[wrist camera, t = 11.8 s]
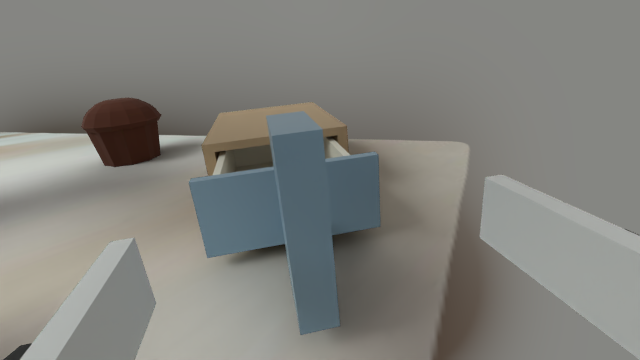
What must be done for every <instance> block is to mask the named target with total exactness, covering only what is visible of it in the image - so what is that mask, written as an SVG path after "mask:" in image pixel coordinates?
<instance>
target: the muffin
mask: <svg viewBox="0 0 640 360" xmlns="http://www.w3.org/2000/svg"><path fill="white" fill-rule="evenodd" d="M160 116H161V114H160V113H159V112H158V111H157V110H156V108H154V107H153V106H151V105H150V104H148V103H146V102H144V101H141V100H139V99H134V98H119V99H111V100H106V101H102V102H100V103H98V104H96V105H94V106H93V107H92V108H91V109H90V110H89V111H88V112H87V113H86V114H85V116H84V118H83V122H82V126H81V127H82V128H83V129H84V130H85V131H86V132H87V134H88V135H89V137H90V139H91V141H92V143H93V145H94V147H95V148H96V150H97V152H98V154H99V156H100V158H101V159H102V161H103V163H104V165H105V166H113V167H118V166H125V165H134V164H137V163H141V162H144V161H149V160H151V159H153V158H155V157H157V156H160V155H161V154H160V144H159V134H158V125H157V121H158V120H159V118H160Z"/></svg>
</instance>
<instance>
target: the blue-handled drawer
mask: <svg viewBox="0 0 640 360" xmlns="http://www.w3.org/2000/svg"><path fill="white" fill-rule="evenodd" d="M266 119H267V126H268V132H269V139H270V145H263V146H255V147H248V148H241V149H233V150H226V151H220V154H219V157H218V160H217V163H216V166H215V169H214V172H213V175H212V176H205V177H198V178H191V179H190V181H189V186H190V190H191V194H192V198H193V202H194V206H195V210H196V214H197V218H198V222H199V226H200V230H201V234H202V238H203V242H204V246H205V250H206V254H207V258H210V257H216V256H221V255H227V254H232V253H238V252H243V251H249V250H254V249H260V248H265V247H271V246H276V245H282V244H285V247H286V254H287V260H288V267H289V274H290V279H291V285H292V290H293V296H294V301H295V307H296V312H297V318H298V323H299V329H300V334H301V335H303V334H307V333H312V332H316V331H321V330H325V329H330V328H334V327H339V326H340V320H339V308H338V297H337V286H336V275H335V264H334V252H333V241H332V235H336V234H342V233H347V232H353V231H358V230H364V229H369V228H375V227H380V194H379V160H378V154H377V153H376V152H369V153H362V154H355V155H350V154H349V153H348V152H347V151H346V150H345V149H344V148H342V147H341V146H340V145H339V144H338V143H337V142H336V141H335V140H334V139H333V138H332V137H331V136H329V137H323V129H322V128H321V127H320V126H319V125H318V124H317V123H316V122H315V121H314V120H312V119H311V118H310V117H309V116H308V115H307V114H306V113H305V112H304V111H300V112H292V113H284V114H275V115H267V116H266Z"/></svg>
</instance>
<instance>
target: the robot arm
mask: <svg viewBox="0 0 640 360" xmlns="http://www.w3.org/2000/svg"><path fill="white" fill-rule="evenodd" d="M480 238H481V239H482V240H483V241H485V242H486V243H487V244H489V245H490V246H491V247H493V248H494V249H495V250H496V251H498V252H499V253H500V254H502V255H503V256H504V257H506V258H507V259H508V260H509V261H511V262H512V263H513V264H515V265H516V266H518V267H519V268H520V269H521V270H523V271H524V272H525V273H526V274H528V275H529V276H530V277H532V278H533V279H534V280H536V281H537V282H538V283H539V284H541V285H542V286H543V287H545V288H546V289H547V290H549V291H550V292H551V293H553V294H554V295H555V296H556V297H558V298H559V299H560V300H562V301H563V302H564V303H566V304H567V305H568V306H570V307H571V308H572V309H574V310H575V311H576V312H577V313H579V314H580V315H581V316H583V317H584V318H585V319H587V320H588V321H589V322H590V323H592V324H593V325H594V326H596V327H597V328H598V329H600V330H601V331H602V332H604V333H605V334H606V335H607V336H609V337H610V338H611V339H613V340H614V341H615V342H617V343H618V344H619V345H620V346H622V347H623V348H625V349H626V350H627V351H628V352H630V353H631V354H632V355H634V356H635V357H636V358H637V359H639V360H640V235H638V234H636V233H633V232H631V231H629V230H627V229H623V228H621V227H618V226H616V225H614V224H612V223H609V222H607V221H605V220H603V219H601V218H598V217H596V216H594V215H592V214H589V213H587V212H585V211H582V210H580V209H578V208H576V207H573V206H572V205H569V204H567V203H565V202H562V201H560V200H558V199H556V198H554V197H551V196H549V195H547V194H545V193H542V192H540V191H538V190H536V189H534V188H531V187H529V186H526V185H525V184H522V183H520V182H518V181H516V180H514V179H511V178H509V177H507V176H504V175H496V176H490V177H485V184H484V194H483V206H482V217H481V228H480ZM155 305H156V301H155V298H154V295H153V292H152V289H151V286H150V283H149V280H148V277H147V274H146V271H145V268H144V265H143V262H142V259H141V256H140V253H139V250H138V247H137V244H136V241H135V238H129V239H123V240H117V241H111V242H109V244H108V245H107V246H106V248H105V249H104V250H103V251H102V253H101V254H100V255H99V257H98V258H97V259H96V261H95V262H94V263H93V265H92V266H91V267H90V268H89V270H88V271H87V272H86V274H85V275H84V276H83V278H82V279H81V280H80V282H79V283H78V284H77V285H76V287H75V288H74V289H73V291H72V292H71V293H70V295H69V296H68V297H67V299H66V300H65V301H64V302H63V304H62V305H61V306H60V308H59V309H58V310H57V312H56V313H55V314H54V316H53V317H52V318H51V319H50V321H49V322H48V323H47V325H46V326H45V327H44V329H43V330H42V331H41V333H40V334H39V335H38V336H37V338H36V339H35V340H34V342H33V343H31V344H26V345H21V346H19V347H18V348H17V349H16V350H15V351H13V352H12V353H11V354H10V355H8V356H7V357H6V358H5V359H4V360H135V357H136V355H137V352H138V350H139V347H140V344H141V342H142V339H143V336H144V334H145V331H146V329H147V326H148V323H149V321H150V318H151V315H152V313H153V310H154V308H155Z"/></svg>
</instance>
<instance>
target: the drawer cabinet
mask: <svg viewBox="0 0 640 360" xmlns="http://www.w3.org/2000/svg"><path fill="white" fill-rule="evenodd" d="M300 111H304V112H305V113H306V114H307V115H308V116H309V117H310V118H311V119H312V120H314V121H315V122H316V123H317V124H318V125H319V126H320V127H321V128H322V129H323V137H329V136H331V137H332V138H333V139H334V140H335V141H336V142H337V143H338V144H339V145H340V146H341V147H342V148H344V149H345V150H346V151H347V152H348V153H349V151H348V135H347V126H346V125H345V124H343V123H342V122H340V121H339V120H337V119H336V118H335V117H333V116H332V115H330V114H329V113H327V112H326V111H324V110H323V109H321V108H320V107H319V106H317V105H316V104H314V103H313V102H310V103H302V104H293V105H285V106H276V107H269V108H260V109H251V110H243V111H235V112H226V113H220V114H219V115H218V117H217V119H216V121H215V123H214V124H213V126H212V128H211V130H210V131H209V133H208V135H207V137H206V138H205V140H204V142H203V144H202V150H203V154H204V159H205V163H206V168H207V172H208V176H212V175H213V172H214V169H215V166H216V163H217V160H218V157H219V154H220V151H226V150H233V149H241V148H248V147H255V146H263V145H270V139H269V132H268V126H267V119H266V116H267V115H275V114H284V113H292V112H300Z"/></svg>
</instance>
